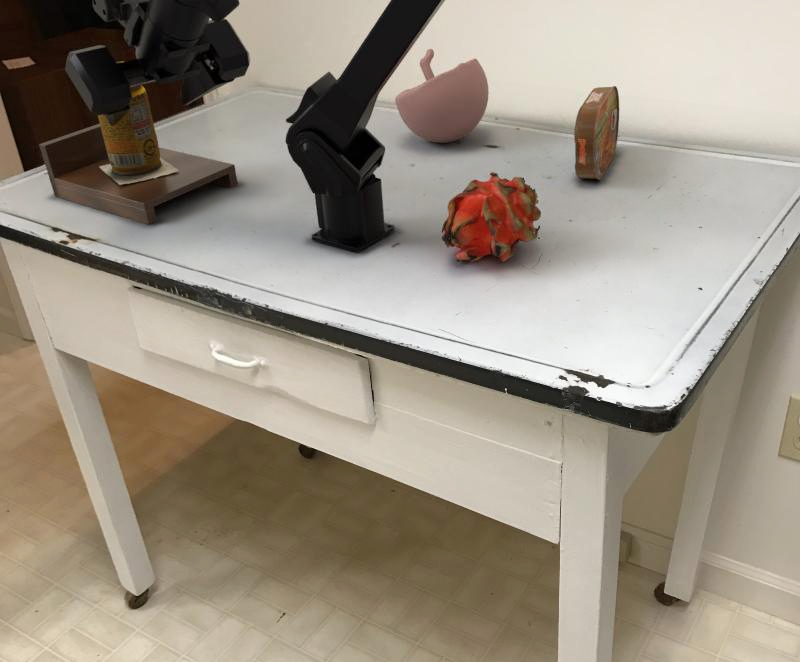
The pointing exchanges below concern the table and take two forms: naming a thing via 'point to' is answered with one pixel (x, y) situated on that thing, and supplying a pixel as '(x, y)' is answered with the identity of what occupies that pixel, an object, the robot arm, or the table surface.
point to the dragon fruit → (491, 218)
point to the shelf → (89, 185)
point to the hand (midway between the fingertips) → (147, 111)
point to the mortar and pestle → (445, 101)
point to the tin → (596, 132)
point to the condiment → (133, 143)
